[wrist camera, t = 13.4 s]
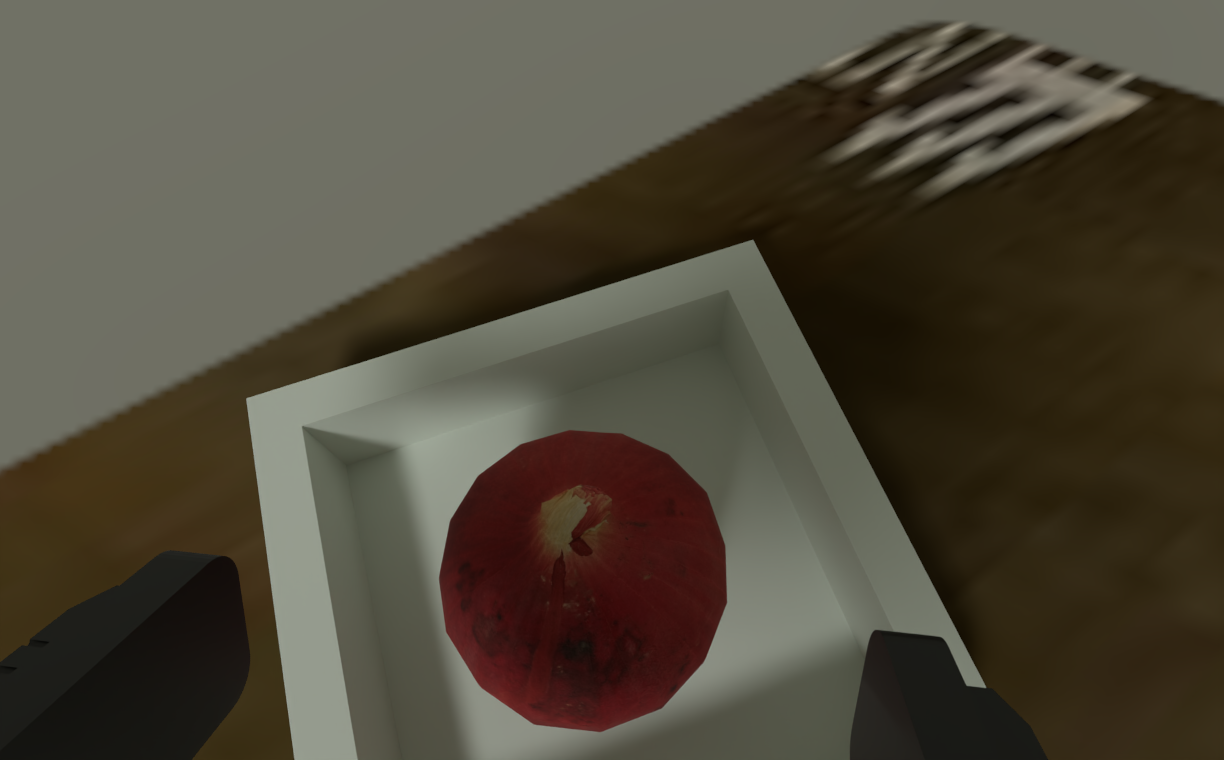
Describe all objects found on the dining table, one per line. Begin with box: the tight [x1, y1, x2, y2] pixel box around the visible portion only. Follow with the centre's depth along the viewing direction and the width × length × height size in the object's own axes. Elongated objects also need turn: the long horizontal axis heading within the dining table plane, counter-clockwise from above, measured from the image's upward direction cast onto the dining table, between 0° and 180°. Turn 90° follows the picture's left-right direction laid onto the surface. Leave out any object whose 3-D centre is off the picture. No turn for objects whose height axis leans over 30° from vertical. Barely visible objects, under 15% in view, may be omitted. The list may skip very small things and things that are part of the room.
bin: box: [246, 240, 986, 760], centre depth 18 cm, size 13×13×4 cm
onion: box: [439, 430, 727, 732], centre depth 15 cm, size 6×6×8 cm
